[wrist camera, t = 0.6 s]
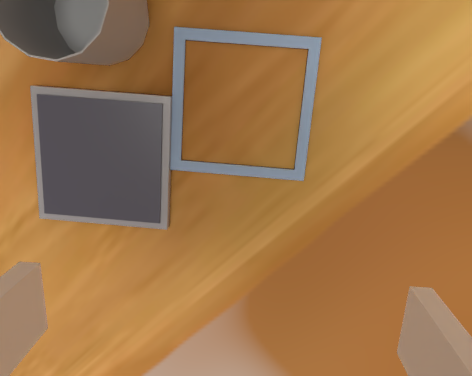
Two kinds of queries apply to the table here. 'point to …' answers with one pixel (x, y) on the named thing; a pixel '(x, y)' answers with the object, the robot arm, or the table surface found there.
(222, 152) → the table surface
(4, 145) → the table surface
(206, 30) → the marked square
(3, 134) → the table surface
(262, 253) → the table surface
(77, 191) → the pad
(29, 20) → the cup
